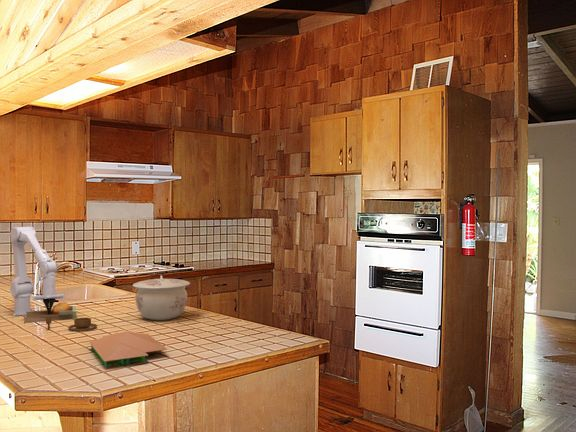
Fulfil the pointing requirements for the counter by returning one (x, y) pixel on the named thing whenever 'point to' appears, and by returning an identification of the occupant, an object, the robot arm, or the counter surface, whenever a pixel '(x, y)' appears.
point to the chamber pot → (161, 298)
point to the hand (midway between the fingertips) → (49, 314)
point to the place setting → (76, 324)
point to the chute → (41, 315)
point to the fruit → (60, 308)
